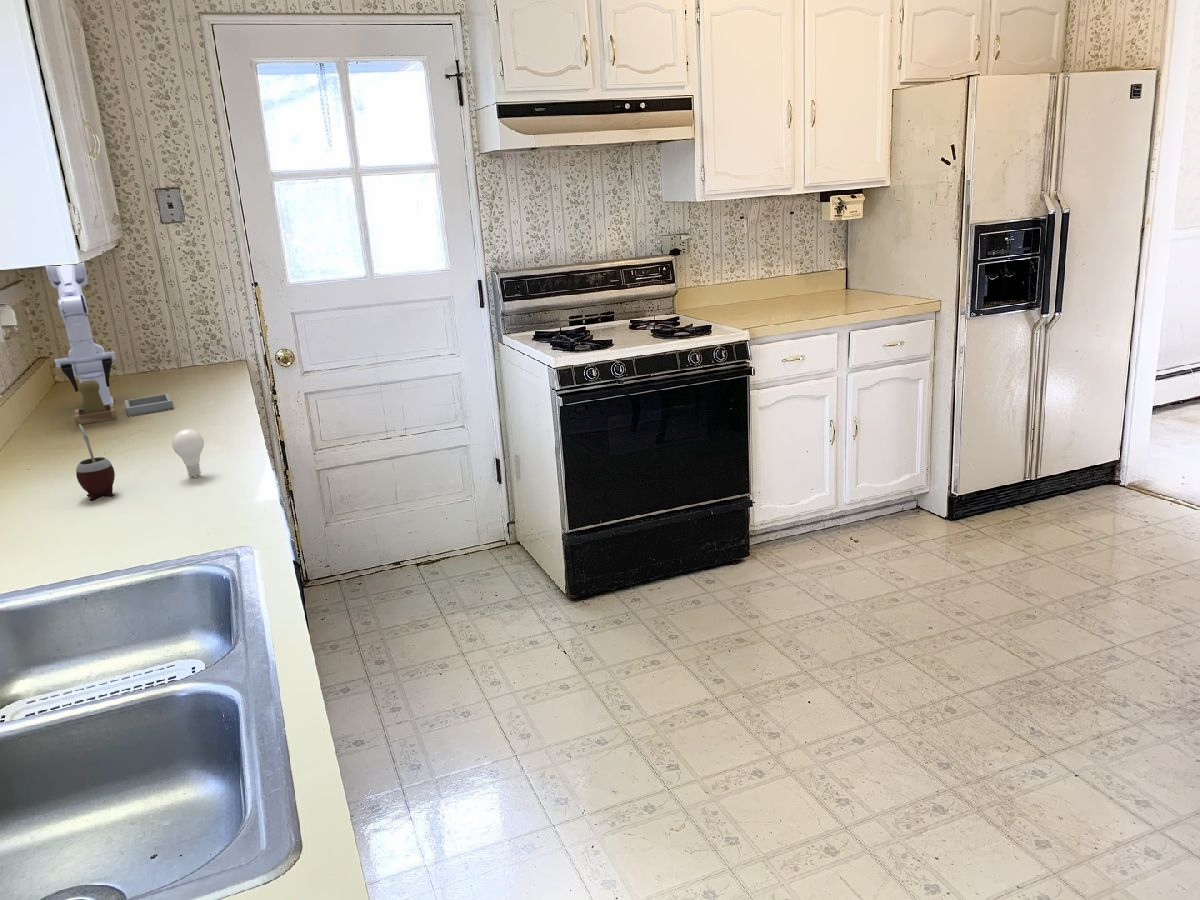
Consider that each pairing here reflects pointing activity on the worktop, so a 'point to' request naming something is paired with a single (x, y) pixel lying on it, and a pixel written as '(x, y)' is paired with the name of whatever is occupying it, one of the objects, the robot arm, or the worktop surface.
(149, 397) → the tray
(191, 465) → the lightbulb
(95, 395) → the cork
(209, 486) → the worktop surface
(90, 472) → the mate gourd
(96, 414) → the wooden square frame
